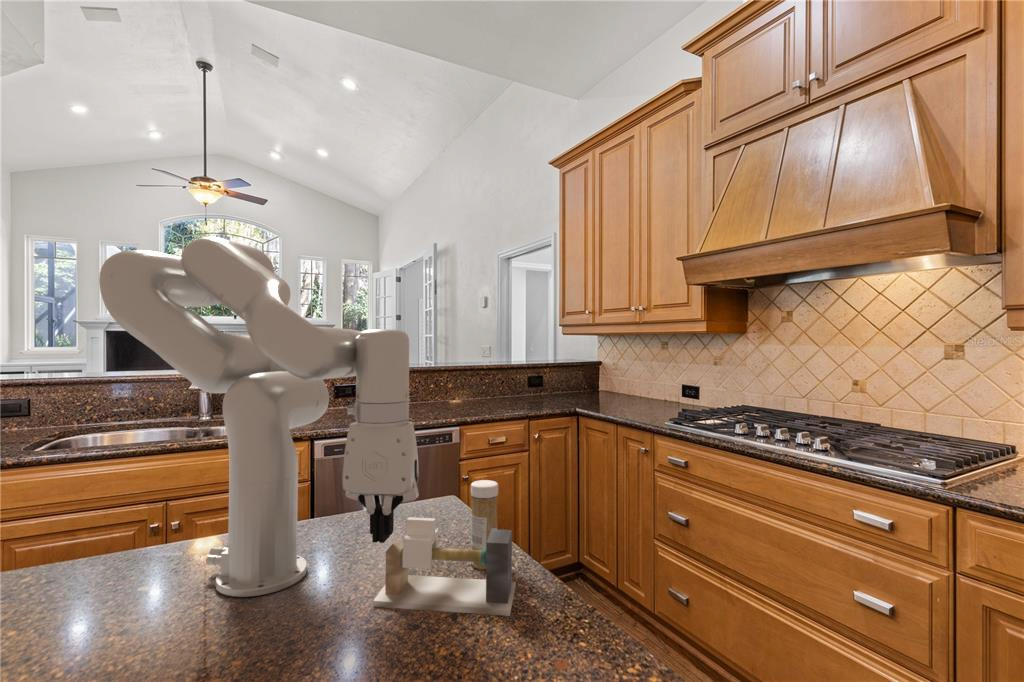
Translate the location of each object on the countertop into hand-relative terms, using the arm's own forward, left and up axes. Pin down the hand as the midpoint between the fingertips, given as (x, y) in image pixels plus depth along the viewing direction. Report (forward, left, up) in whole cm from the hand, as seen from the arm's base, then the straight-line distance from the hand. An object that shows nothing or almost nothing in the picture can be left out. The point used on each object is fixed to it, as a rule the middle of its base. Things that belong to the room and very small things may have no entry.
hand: (381, 538), depth 72 cm
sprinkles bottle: (+13, +11, -8) cm, 19 cm away
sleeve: (+6, 0, -3) cm, 7 cm away
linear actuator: (+10, 0, -8) cm, 13 cm away
